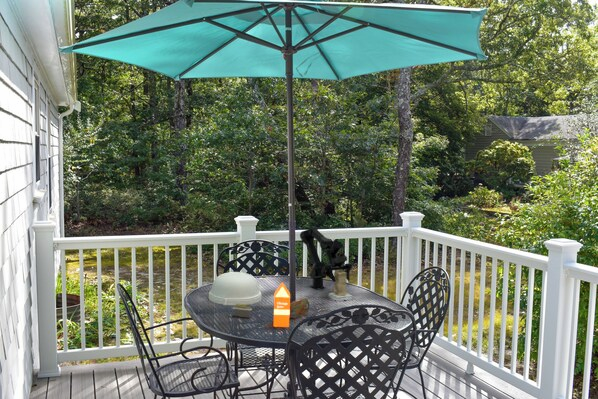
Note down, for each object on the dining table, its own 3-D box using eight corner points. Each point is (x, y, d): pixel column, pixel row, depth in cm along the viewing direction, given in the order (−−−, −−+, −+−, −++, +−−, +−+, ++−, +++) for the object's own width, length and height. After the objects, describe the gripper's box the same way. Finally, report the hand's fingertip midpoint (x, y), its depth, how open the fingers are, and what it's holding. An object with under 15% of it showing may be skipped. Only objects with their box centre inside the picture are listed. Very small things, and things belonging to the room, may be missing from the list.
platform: (229, 312, 294) (229, 299, 293) (262, 315, 290) (263, 303, 289) (221, 318, 282) (221, 305, 281) (256, 322, 278) (256, 309, 278)
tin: (291, 320, 283) (292, 303, 282) (286, 318, 285) (287, 302, 284) (309, 313, 295) (310, 297, 294) (304, 312, 297) (305, 296, 296)
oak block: (334, 293, 327) (334, 271, 325) (341, 292, 329) (341, 270, 328) (338, 295, 322) (338, 273, 321) (346, 294, 325) (346, 272, 323)
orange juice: (289, 321, 281) (290, 282, 279) (289, 327, 272) (290, 286, 270) (273, 320, 281) (274, 281, 279) (273, 326, 272) (274, 286, 270)
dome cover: (250, 308, 300) (250, 282, 299) (198, 302, 308) (199, 277, 307) (269, 294, 331) (270, 270, 329) (221, 288, 339) (222, 265, 337)
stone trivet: (328, 298, 328) (328, 293, 328) (342, 296, 333) (343, 291, 332) (337, 302, 319) (337, 297, 319) (352, 300, 324) (352, 295, 324)
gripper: (324, 251, 323) (333, 274, 314) (351, 249, 331) (361, 272, 323) (317, 262, 330) (325, 285, 322) (344, 260, 339) (353, 282, 331)
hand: (342, 281), depth 324 cm, fingers open, 9 cm apart
